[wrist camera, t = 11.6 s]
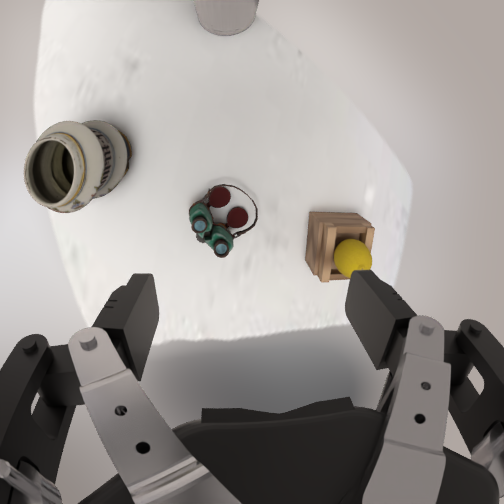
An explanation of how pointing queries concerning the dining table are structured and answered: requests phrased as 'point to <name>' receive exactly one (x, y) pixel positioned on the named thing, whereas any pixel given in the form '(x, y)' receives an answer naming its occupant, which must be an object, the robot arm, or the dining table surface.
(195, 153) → the dining table surface
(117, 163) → the apothecary jar
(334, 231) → the wooden crate
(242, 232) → the binoculars
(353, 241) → the lemon
